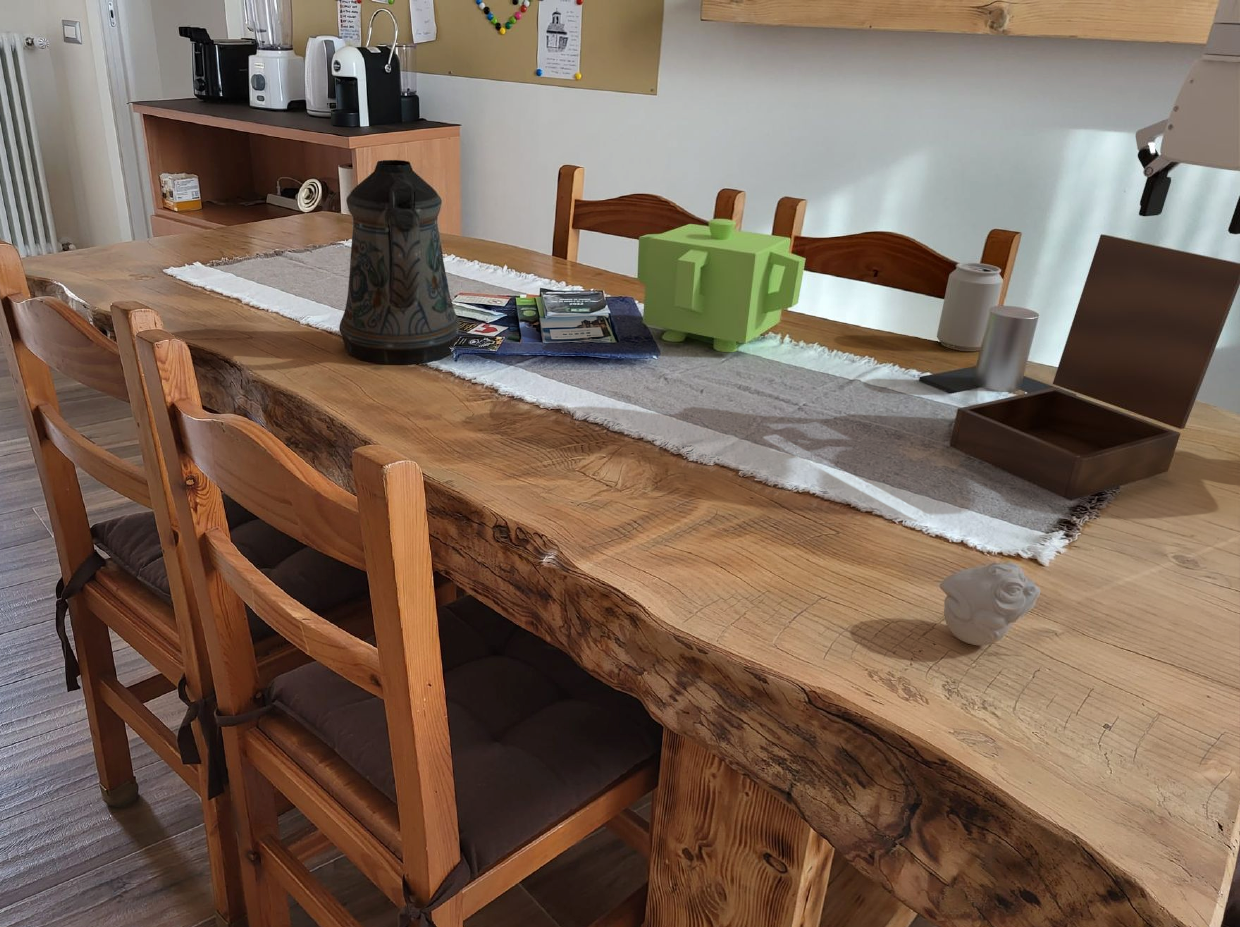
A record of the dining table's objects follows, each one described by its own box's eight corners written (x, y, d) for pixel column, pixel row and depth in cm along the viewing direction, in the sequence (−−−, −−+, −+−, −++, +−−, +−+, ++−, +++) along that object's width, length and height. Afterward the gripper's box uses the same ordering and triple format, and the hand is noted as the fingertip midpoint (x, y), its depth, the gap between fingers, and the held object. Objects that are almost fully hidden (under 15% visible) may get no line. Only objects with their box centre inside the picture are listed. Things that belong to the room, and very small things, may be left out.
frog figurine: (1022, 672, 75) (1045, 593, 72) (925, 649, 77) (944, 571, 74) (1022, 632, 80) (1044, 556, 77) (932, 611, 82) (949, 537, 79)
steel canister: (992, 375, 137) (1009, 303, 132) (1030, 389, 132) (1049, 315, 128) (962, 381, 134) (979, 308, 130) (1000, 395, 129) (1018, 320, 125)
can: (997, 348, 150) (1016, 268, 145) (967, 355, 146) (985, 274, 141) (955, 335, 156) (972, 258, 150) (925, 342, 152) (941, 263, 147)
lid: (1243, 264, 99) (1268, 264, 101) (1100, 234, 111) (1125, 235, 113) (1180, 429, 106) (1204, 425, 108) (1052, 384, 118) (1076, 381, 120)
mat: (987, 367, 142) (988, 363, 142) (1075, 398, 131) (1076, 394, 131) (918, 380, 136) (919, 376, 135) (1004, 414, 125) (1005, 410, 124)
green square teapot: (814, 334, 154) (832, 220, 146) (761, 372, 136) (777, 245, 129) (668, 307, 165) (677, 199, 157) (601, 339, 148) (608, 220, 140)
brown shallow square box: (1069, 507, 101) (1083, 459, 99) (947, 452, 113) (957, 408, 111) (1165, 477, 109) (1181, 432, 107) (1042, 428, 121) (1053, 387, 119)
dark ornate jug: (415, 324, 151) (410, 150, 140) (496, 356, 139) (497, 168, 127) (318, 343, 141) (304, 157, 130) (396, 380, 128) (388, 178, 117)
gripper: (1366, 52, 93) (1297, 238, 101) (1185, 42, 106) (1137, 207, 114) (1324, 50, 90) (1257, 243, 97) (1143, 40, 103) (1096, 211, 111)
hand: (1192, 223), depth 106 cm, fingers open, 9 cm apart
